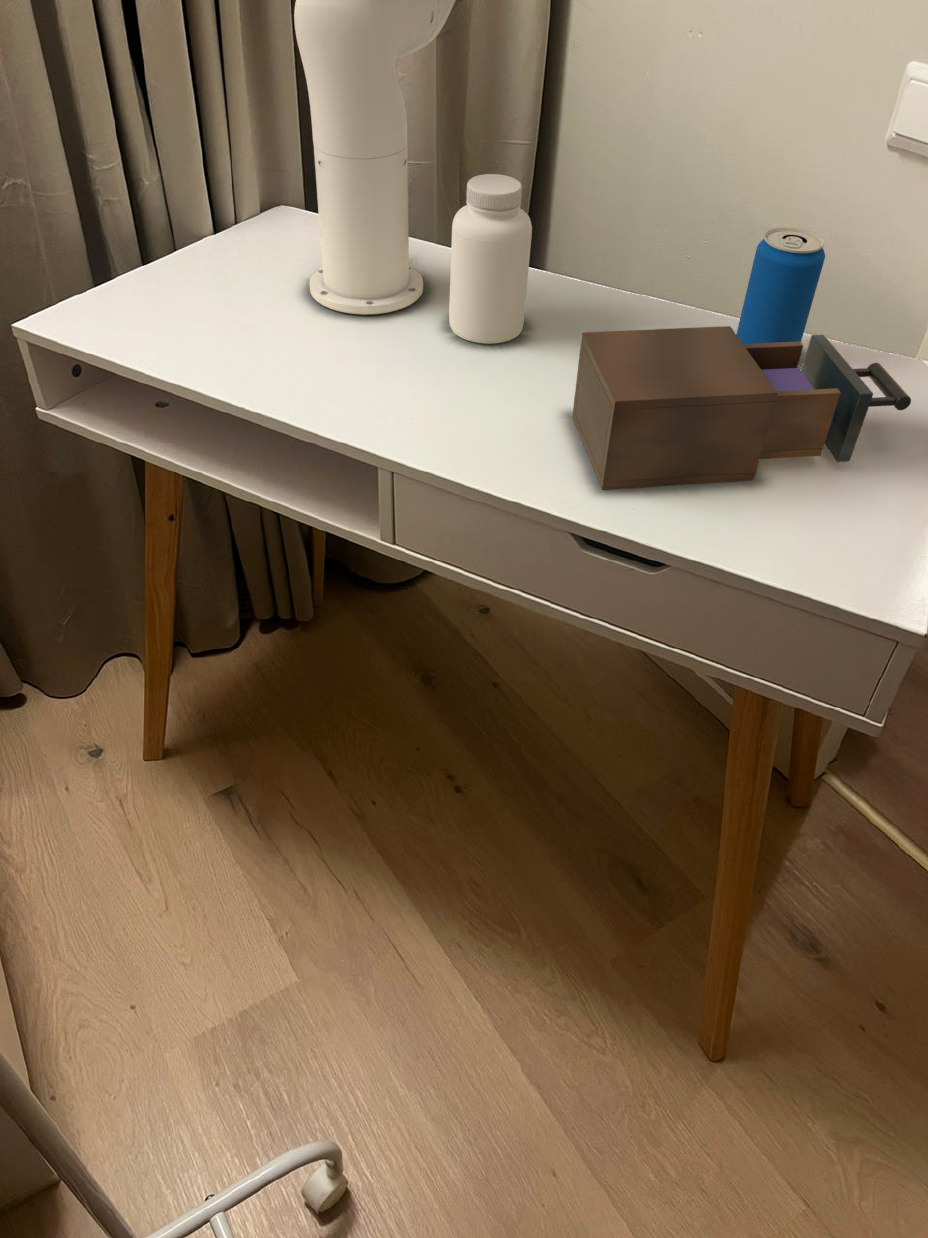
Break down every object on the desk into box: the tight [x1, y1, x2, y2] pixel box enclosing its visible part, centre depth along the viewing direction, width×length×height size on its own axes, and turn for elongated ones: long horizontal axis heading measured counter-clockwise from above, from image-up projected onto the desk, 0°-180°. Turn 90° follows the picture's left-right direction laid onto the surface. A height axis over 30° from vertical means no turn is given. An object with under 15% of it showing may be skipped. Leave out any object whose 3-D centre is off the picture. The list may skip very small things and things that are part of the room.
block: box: [762, 367, 814, 391], centre depth 88 cm, size 4×4×4 cm
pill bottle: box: [448, 173, 533, 344], centre depth 100 cm, size 8×8×15 cm
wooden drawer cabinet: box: [571, 325, 778, 490], centre depth 87 cm, size 14×12×9 cm
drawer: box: [743, 334, 912, 463], centre depth 88 cm, size 18×10×7 cm, turn 98°
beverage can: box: [735, 226, 826, 344], centre depth 99 cm, size 6×6×12 cm
